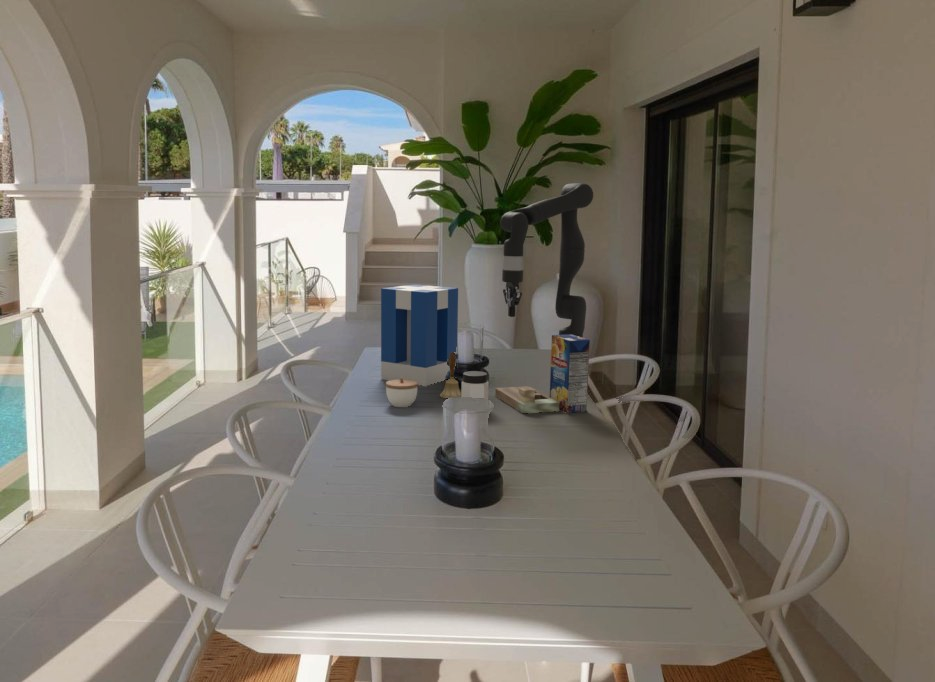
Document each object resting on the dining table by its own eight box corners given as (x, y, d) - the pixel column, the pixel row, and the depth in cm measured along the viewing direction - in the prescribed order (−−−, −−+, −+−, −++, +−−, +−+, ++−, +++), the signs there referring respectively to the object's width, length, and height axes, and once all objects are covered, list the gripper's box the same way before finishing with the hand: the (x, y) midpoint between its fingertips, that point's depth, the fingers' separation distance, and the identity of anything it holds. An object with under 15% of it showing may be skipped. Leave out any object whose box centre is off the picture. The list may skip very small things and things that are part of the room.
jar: (492, 409, 262) (493, 374, 260) (473, 413, 256) (474, 377, 254) (475, 404, 268) (476, 369, 266) (456, 407, 263) (457, 372, 261)
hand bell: (467, 395, 282) (467, 351, 279) (457, 400, 274) (457, 354, 271) (446, 392, 285) (446, 348, 282) (435, 397, 277) (436, 352, 275)
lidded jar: (422, 403, 269) (422, 376, 267) (410, 410, 259) (410, 382, 257) (393, 400, 272) (393, 373, 271) (380, 407, 262) (380, 379, 261)
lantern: (456, 376, 312) (458, 288, 306) (425, 386, 294) (426, 292, 288) (413, 370, 323) (414, 284, 317) (381, 379, 305) (381, 288, 299)
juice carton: (549, 404, 270) (551, 335, 266) (568, 403, 273) (571, 334, 269) (567, 413, 259) (569, 340, 255) (586, 411, 262) (589, 339, 258)
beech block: (529, 398, 265) (529, 387, 264) (534, 401, 261) (534, 389, 260) (518, 399, 264) (518, 387, 263) (523, 402, 260) (523, 390, 259)
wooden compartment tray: (529, 394, 285) (529, 386, 284) (559, 411, 261) (559, 402, 261) (495, 396, 281) (495, 388, 280) (522, 413, 257) (522, 404, 257)
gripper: (529, 270, 279) (528, 318, 282) (515, 267, 292) (514, 313, 295) (510, 270, 277) (508, 319, 280) (496, 267, 289) (495, 314, 292)
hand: (511, 316), depth 287 cm, fingers closed
